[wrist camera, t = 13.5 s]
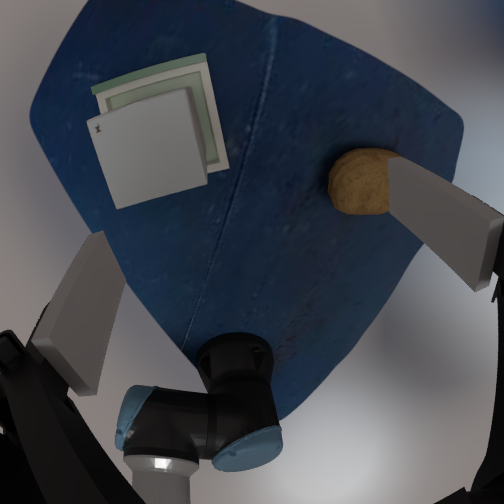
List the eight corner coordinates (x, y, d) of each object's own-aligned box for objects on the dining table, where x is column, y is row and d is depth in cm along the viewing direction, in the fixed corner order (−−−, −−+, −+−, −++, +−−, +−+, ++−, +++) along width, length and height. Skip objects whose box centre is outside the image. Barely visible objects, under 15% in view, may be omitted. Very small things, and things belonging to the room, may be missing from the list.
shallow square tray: (228, 162, 42) (230, 170, 38) (130, 187, 41) (123, 198, 38) (205, 55, 34) (205, 52, 30) (101, 86, 33) (90, 87, 30)
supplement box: (142, 168, 39) (113, 213, 27) (124, 105, 35) (82, 120, 22) (208, 150, 40) (209, 187, 27) (192, 84, 35) (185, 86, 22)
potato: (398, 193, 47) (426, 213, 41) (320, 210, 47) (339, 234, 40) (397, 135, 42) (428, 148, 35) (312, 148, 42) (333, 163, 35)
